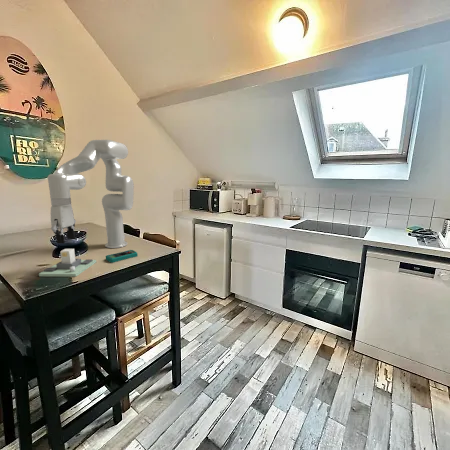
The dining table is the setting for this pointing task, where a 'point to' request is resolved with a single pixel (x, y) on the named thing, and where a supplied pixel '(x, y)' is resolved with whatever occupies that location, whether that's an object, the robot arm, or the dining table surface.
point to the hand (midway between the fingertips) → (66, 240)
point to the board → (68, 268)
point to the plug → (67, 256)
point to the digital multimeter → (121, 256)
